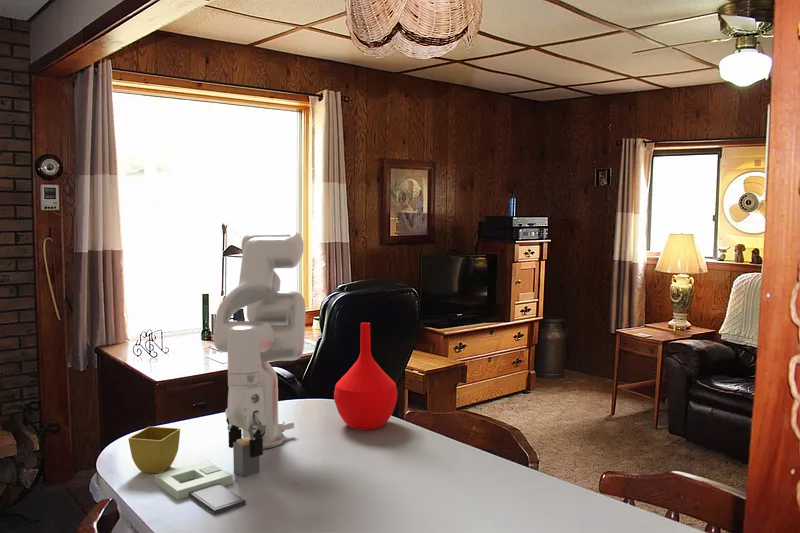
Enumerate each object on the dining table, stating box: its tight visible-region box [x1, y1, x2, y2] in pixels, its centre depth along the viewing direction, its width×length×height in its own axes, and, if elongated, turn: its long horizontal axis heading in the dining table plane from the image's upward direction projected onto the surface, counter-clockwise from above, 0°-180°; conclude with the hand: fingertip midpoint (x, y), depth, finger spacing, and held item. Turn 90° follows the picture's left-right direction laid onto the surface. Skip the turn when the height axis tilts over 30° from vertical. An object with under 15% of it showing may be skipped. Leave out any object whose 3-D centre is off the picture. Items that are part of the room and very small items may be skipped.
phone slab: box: [189, 483, 247, 516], centre depth 141 cm, size 7×12×1 cm, turn 42°
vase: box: [333, 322, 398, 431], centre depth 191 cm, size 18×18×30 cm
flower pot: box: [128, 426, 181, 474], centre depth 158 cm, size 9×9×9 cm
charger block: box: [232, 437, 261, 479], centre depth 156 cm, size 4×4×8 cm
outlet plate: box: [154, 460, 234, 501], centre depth 150 cm, size 13×12×2 cm
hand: (245, 451), depth 155 cm, fingers open, 9 cm apart
